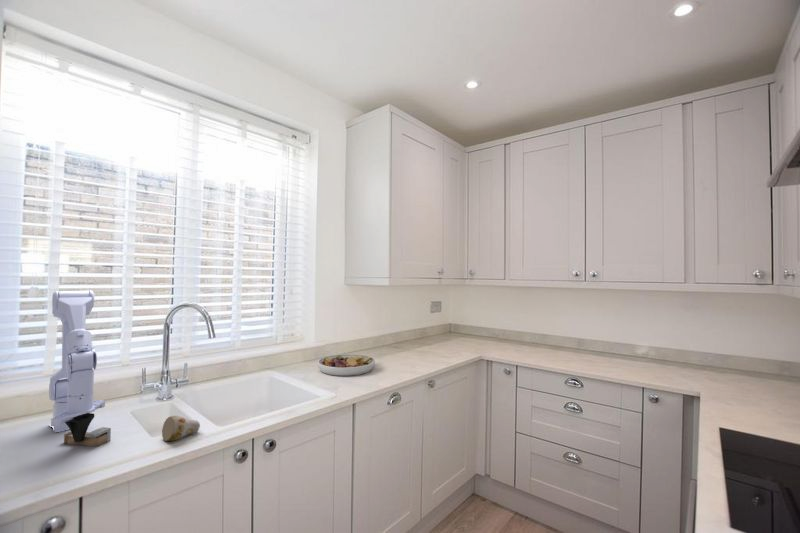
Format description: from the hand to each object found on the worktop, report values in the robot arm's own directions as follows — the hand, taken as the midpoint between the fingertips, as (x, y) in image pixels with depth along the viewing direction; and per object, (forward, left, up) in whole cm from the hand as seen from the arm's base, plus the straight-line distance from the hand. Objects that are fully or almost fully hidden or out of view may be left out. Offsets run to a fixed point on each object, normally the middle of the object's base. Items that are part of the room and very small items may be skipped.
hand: (78, 441), depth 106 cm
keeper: (+2, +4, -2) cm, 5 cm away
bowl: (+1, +110, -2) cm, 109 cm away
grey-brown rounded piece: (+16, +21, -2) cm, 26 cm away
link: (-2, +2, -1) cm, 3 cm away
